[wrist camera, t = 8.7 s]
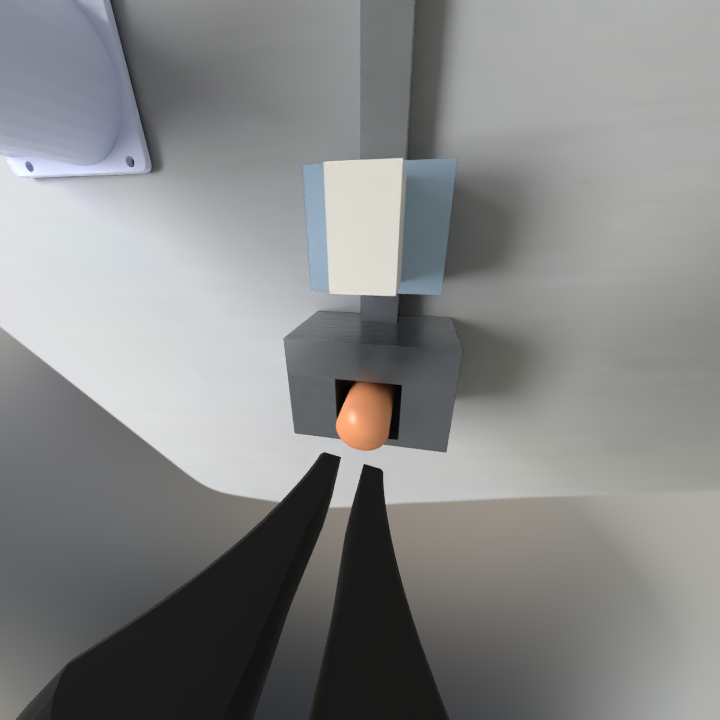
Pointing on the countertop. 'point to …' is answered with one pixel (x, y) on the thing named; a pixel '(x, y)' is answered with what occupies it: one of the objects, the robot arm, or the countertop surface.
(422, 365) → the cabinet
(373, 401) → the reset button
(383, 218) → the carriage
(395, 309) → the rail
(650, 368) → the countertop surface
